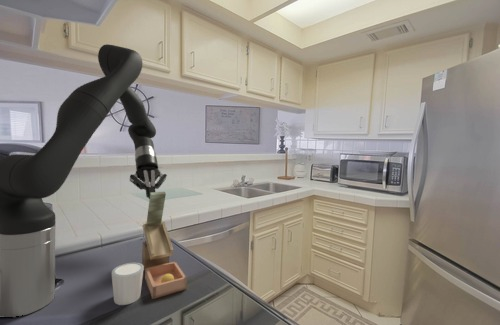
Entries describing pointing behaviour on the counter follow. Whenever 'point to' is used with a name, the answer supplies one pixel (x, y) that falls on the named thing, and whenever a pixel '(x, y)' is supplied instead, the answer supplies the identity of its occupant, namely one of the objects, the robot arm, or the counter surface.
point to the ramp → (157, 228)
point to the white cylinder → (127, 283)
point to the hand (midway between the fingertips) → (151, 197)
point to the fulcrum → (154, 262)
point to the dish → (166, 288)
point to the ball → (167, 278)
